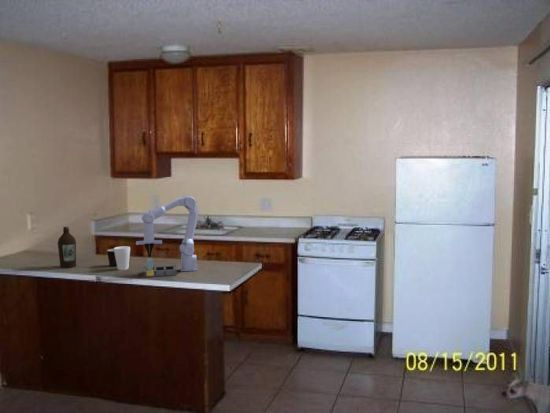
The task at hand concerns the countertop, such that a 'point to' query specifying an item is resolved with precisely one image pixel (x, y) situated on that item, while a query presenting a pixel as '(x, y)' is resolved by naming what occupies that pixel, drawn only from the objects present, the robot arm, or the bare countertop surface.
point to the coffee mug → (112, 258)
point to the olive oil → (67, 249)
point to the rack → (160, 271)
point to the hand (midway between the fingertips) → (149, 256)
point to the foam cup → (122, 257)
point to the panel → (150, 264)
